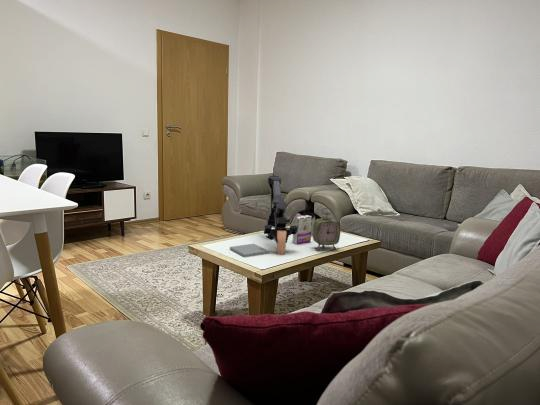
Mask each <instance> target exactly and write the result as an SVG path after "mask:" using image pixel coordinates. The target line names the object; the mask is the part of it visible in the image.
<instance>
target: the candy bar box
mask: <svg viewBox="0 0 540 405" xmlns="http://www.w3.org/2000/svg"><path fill="white" fill-rule="evenodd" d="M292 220H293V222H292V223H293V224H292V225H296V226H297V227H298V230H297V233H296V234H292V243H293V244H295V245H302V244H307V243H311V240H312V237H311V225H312V216H308V215H305V216H303V215H301V216H300V215H298V216H293V219H292Z"/></svg>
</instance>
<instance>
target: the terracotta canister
mask: <svg viewBox="0 0 540 405" xmlns="http://www.w3.org/2000/svg"><path fill="white" fill-rule="evenodd" d="M286 245H287V243H286V230H278V231H277V243H276V248H275V249H276V251H275V252H276V255H278V256H279V255H280V256H281V255H282V256H284V255H286V247H287V246H286Z"/></svg>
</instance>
